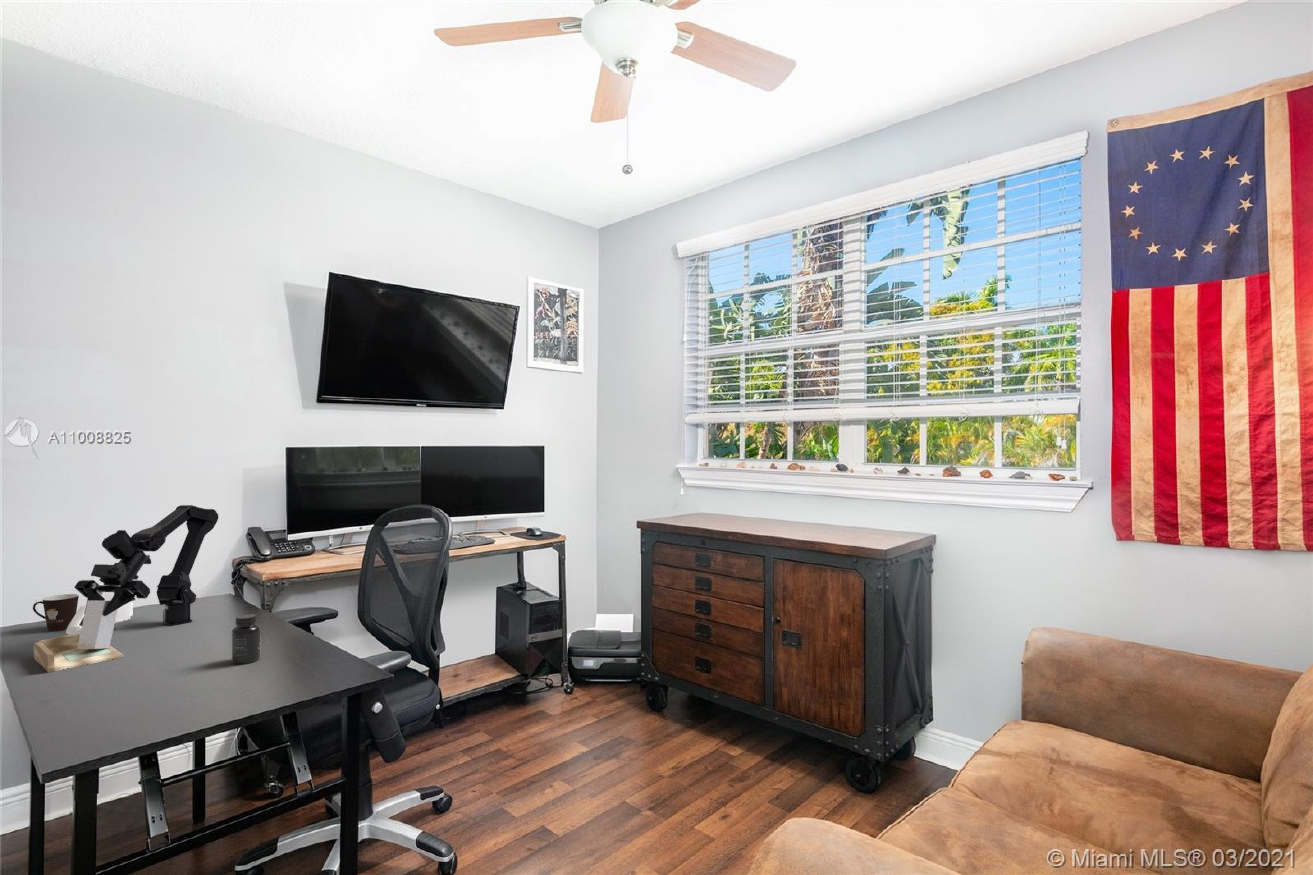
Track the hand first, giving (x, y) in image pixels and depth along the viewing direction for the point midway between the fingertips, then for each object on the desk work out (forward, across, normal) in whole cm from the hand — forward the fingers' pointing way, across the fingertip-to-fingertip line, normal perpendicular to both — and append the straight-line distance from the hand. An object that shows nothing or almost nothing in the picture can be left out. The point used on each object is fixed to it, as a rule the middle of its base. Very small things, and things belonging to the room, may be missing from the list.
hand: (95, 615), depth 188 cm
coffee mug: (-9, -33, +24) cm, 42 cm away
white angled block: (-17, -25, +32) cm, 44 cm away
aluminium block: (+7, 0, +6) cm, 9 cm away
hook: (0, -16, +15) cm, 22 cm away
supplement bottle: (+11, +47, +4) cm, 48 cm away
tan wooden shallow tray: (+10, -1, +4) cm, 11 cm away
